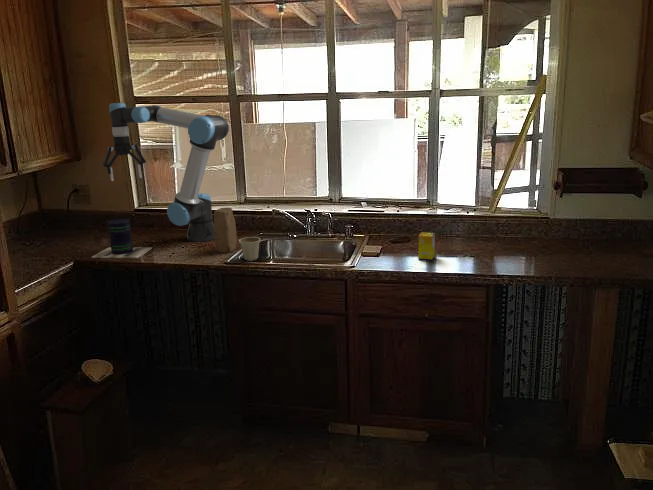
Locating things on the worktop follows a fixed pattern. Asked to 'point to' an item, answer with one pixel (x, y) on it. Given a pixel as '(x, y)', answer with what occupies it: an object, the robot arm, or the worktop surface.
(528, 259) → the worktop surface
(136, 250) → the board
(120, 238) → the dark blue can
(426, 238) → the supplement box
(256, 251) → the flower pot
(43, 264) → the worktop surface
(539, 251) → the worktop surface
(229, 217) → the block
